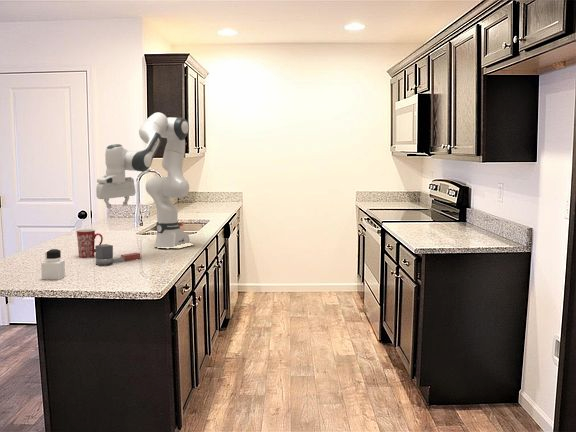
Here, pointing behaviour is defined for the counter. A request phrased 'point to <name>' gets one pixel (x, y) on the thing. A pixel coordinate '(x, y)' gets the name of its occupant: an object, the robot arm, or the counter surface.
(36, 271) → the counter surface
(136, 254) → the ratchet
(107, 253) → the matte grey cube
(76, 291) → the counter surface
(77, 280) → the counter surface
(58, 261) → the medicine bottle
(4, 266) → the counter surface
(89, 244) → the mug
